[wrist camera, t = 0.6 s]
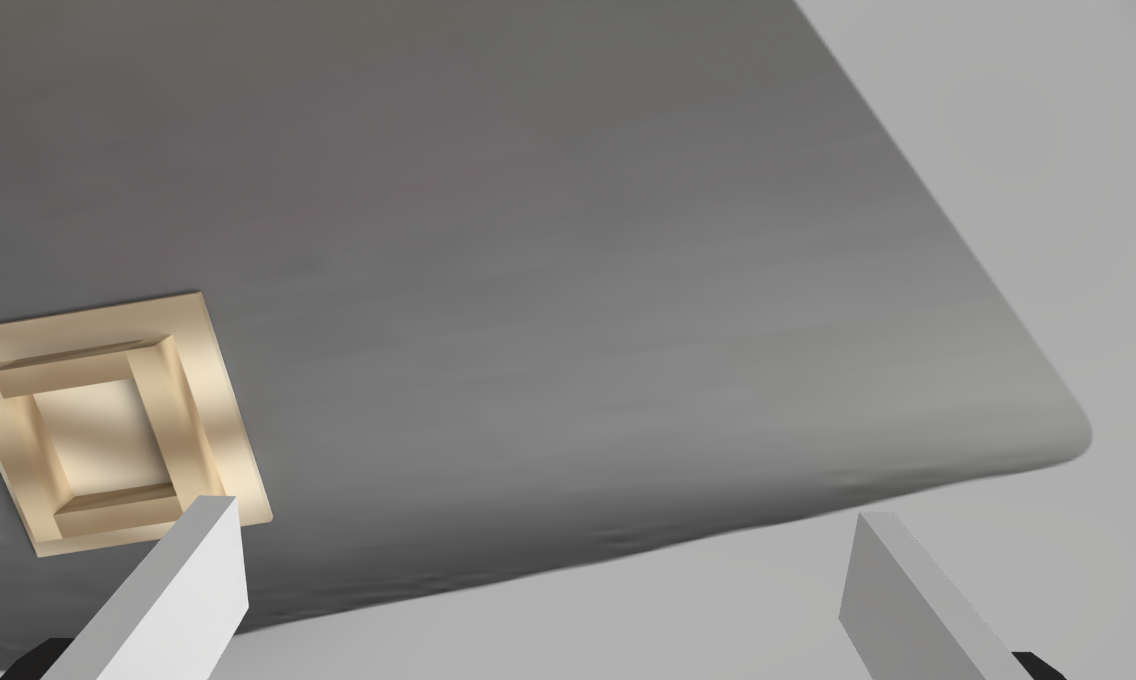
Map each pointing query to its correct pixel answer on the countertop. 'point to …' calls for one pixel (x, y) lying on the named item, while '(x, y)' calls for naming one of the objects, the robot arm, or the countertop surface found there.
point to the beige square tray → (120, 424)
